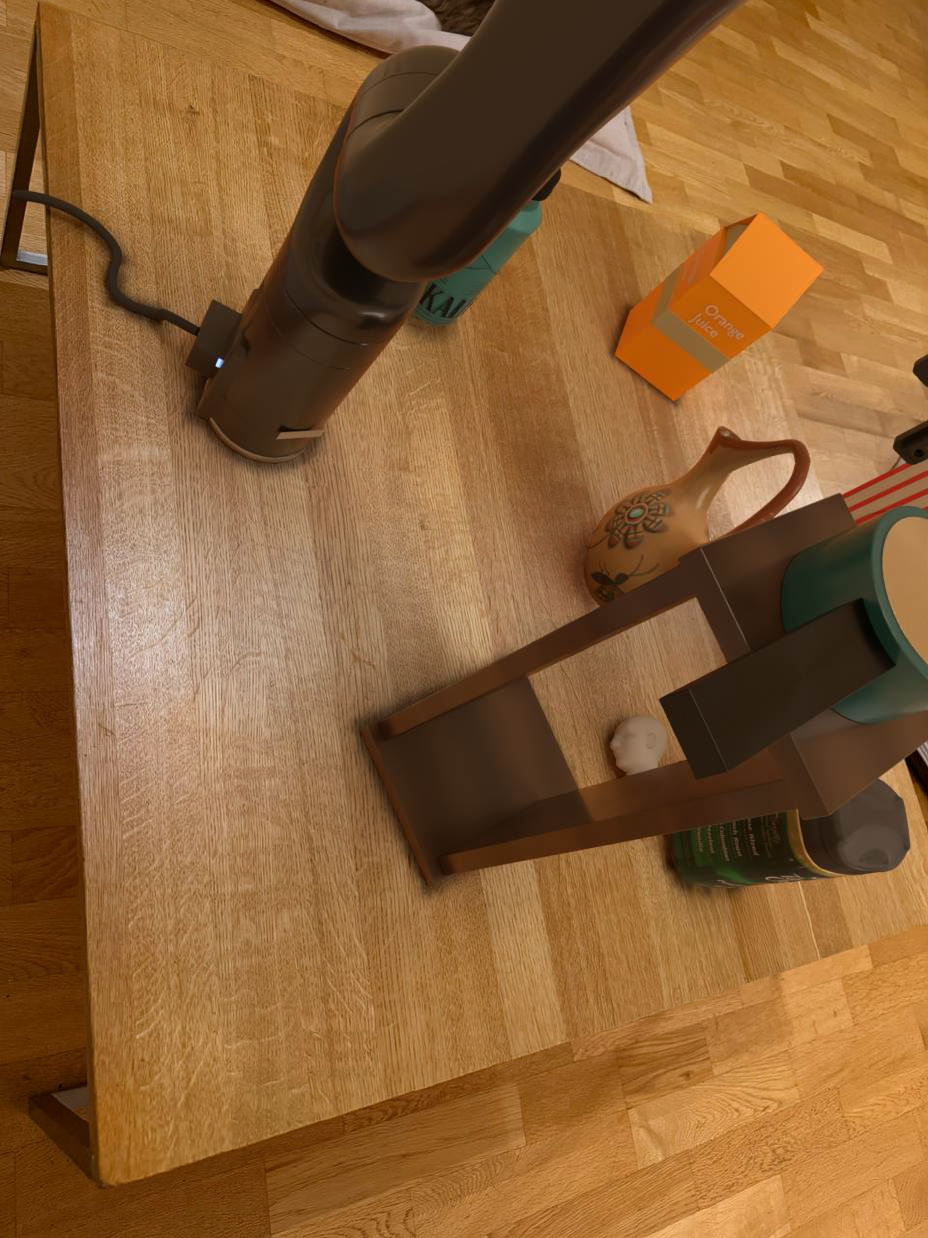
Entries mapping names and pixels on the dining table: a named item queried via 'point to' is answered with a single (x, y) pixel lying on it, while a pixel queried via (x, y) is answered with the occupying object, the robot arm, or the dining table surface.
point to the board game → (889, 492)
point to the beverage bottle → (481, 266)
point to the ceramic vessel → (678, 515)
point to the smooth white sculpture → (639, 743)
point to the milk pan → (821, 648)
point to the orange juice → (715, 305)
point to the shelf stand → (639, 803)
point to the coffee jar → (797, 844)
